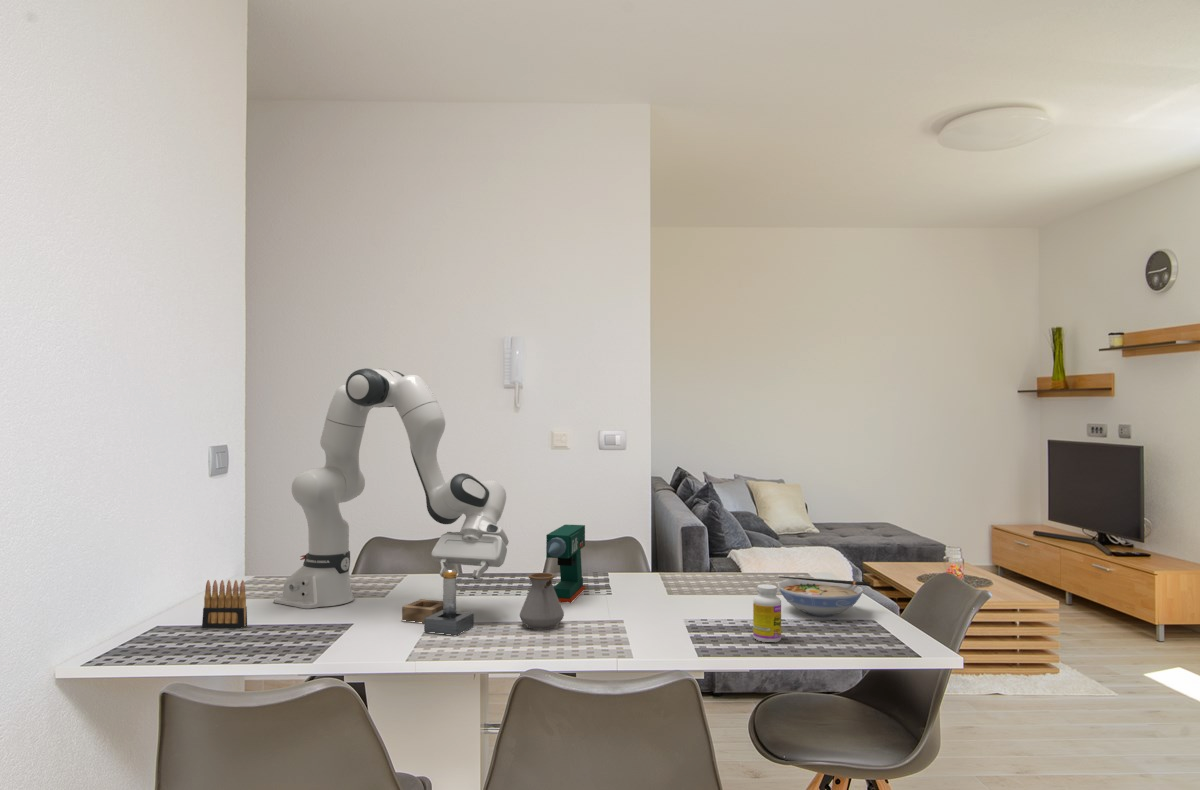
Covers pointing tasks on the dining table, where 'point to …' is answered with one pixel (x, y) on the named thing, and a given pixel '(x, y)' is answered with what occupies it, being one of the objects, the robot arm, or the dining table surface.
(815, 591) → the ramen bowl
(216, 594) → the ammunition clip
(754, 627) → the supplement bottle
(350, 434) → the robot arm
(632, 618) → the dining table surface
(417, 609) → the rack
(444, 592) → the grey capped tube
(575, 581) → the power tool
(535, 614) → the coffee pot
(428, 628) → the socket block
